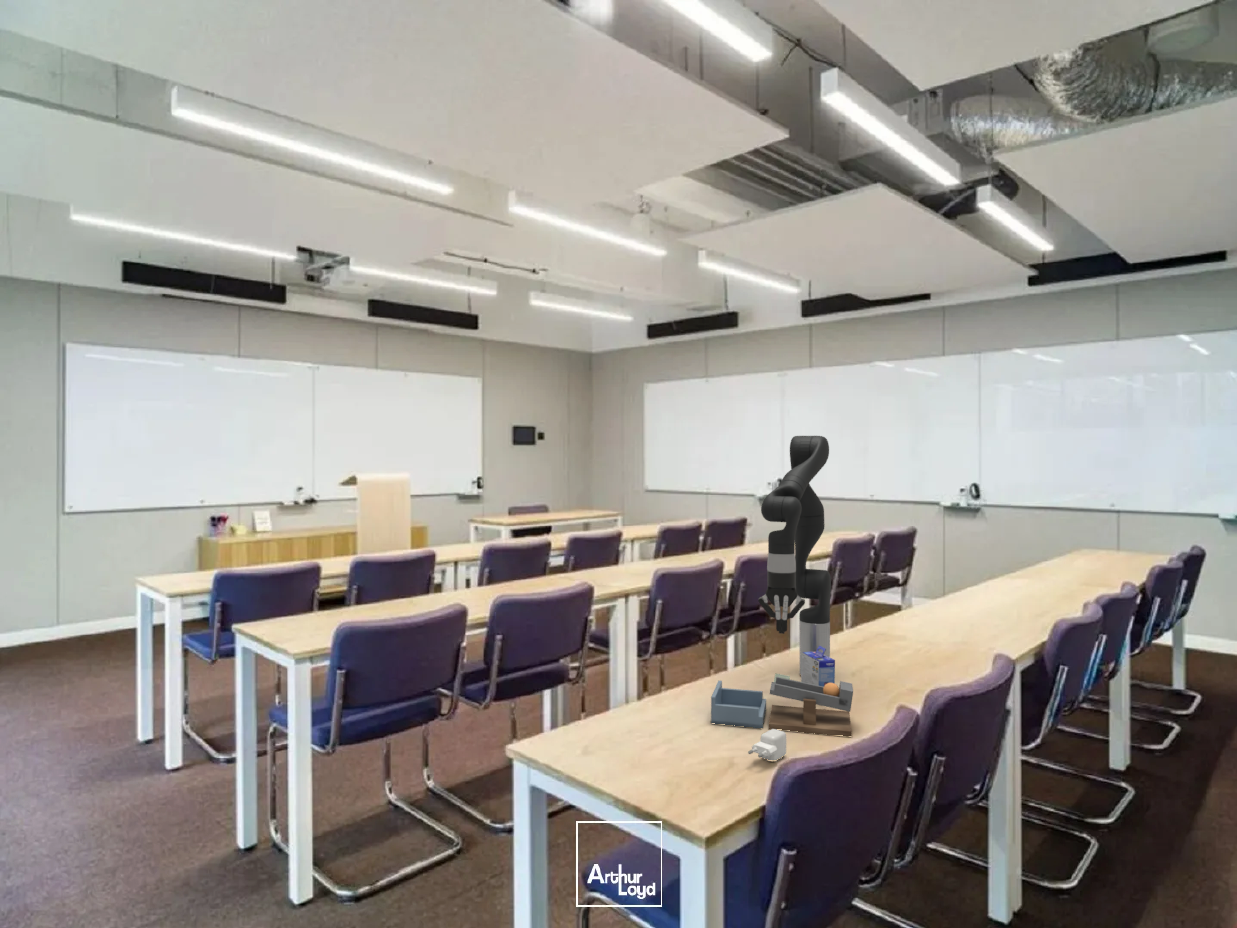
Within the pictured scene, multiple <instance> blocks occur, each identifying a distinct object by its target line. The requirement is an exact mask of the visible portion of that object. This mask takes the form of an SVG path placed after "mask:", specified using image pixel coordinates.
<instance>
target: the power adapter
mask: <svg viewBox="0 0 1237 928" xmlns="http://www.w3.org/2000/svg"><path fill="white" fill-rule="evenodd" d="M759 740H760V741H758V742H756V743H754V744H753V745H752V746H751V749H750V750H749V751H748V752H747V754H748V755H751V754H753V753H755V754H758V756H757V757H758V758H761V757H762V758H765V759H768V760H777V759H779V758H781V757H782V756H784V755H785V754H786V755H787V733H786V731H780V730H777V729H771V730H769V729H768V730H767V731H766V732H764V733H762V734H761V735H760V739H759ZM786 755H785V756H786ZM785 756H784V757H785ZM762 758H761V759H762ZM781 759H782V758H781Z"/></svg>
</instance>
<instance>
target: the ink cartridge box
mask: <svg viewBox="0 0 1237 928" xmlns="http://www.w3.org/2000/svg"><path fill="white" fill-rule="evenodd" d="M819 649H822V650H823V653H821V652H819ZM825 651H826V649H825V648H823V647H821V646H819V647H818V649H817V650H816V652H815V651H814V652H802V671H801V677H800V678H801V679H800V682H804V683H809V684H813V685H818V686H823V687H824V686H825V685H826V684H827V683H834V684H836V683H835V682H836V681H835V680H836V679H835V678H836V659H835V658H832V657H831V656H830V657H828V656H826V655H824V653H825Z"/></svg>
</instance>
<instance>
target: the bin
mask: <svg viewBox="0 0 1237 928" xmlns="http://www.w3.org/2000/svg"><path fill="white" fill-rule="evenodd" d="M763 695H764V694H763V691H762V690H751V689H739V688H738V689H737V688H728V687H723V680H717V682H716V686H715V688H714V690H713V692H712V695H711V697H710V703H711V704H710V711H711V713H710V715H711V716H710V717H711V719H710V720H711V721H710V723H715V724H725V725H733V726H732V727H736V726H744V727H743V728H746V727H753V728H752V729H757V728H764V724H763V723H765V718H766V714H767V698H764V697H763ZM715 724H714V725H715ZM725 725H724V726H725ZM734 725H735V726H734Z"/></svg>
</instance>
